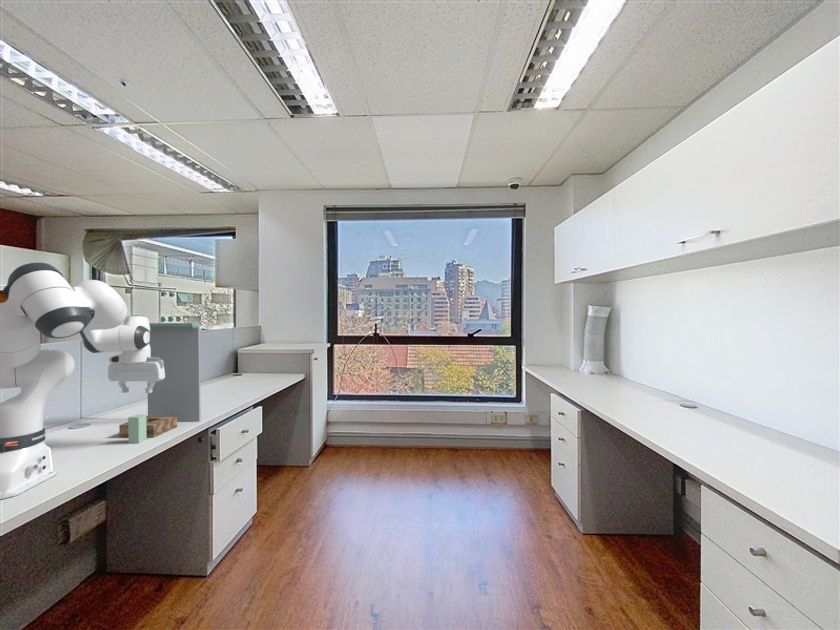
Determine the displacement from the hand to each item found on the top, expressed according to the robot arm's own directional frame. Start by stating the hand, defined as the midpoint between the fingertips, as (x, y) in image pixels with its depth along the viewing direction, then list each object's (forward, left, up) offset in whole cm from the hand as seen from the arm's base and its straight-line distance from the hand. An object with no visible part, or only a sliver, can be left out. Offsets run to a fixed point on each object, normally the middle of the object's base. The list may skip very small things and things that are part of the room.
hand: (137, 392), depth 146 cm
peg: (0, 0, -19) cm, 19 cm away
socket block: (+12, 0, -19) cm, 23 cm away
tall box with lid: (+25, -5, -19) cm, 32 cm away
